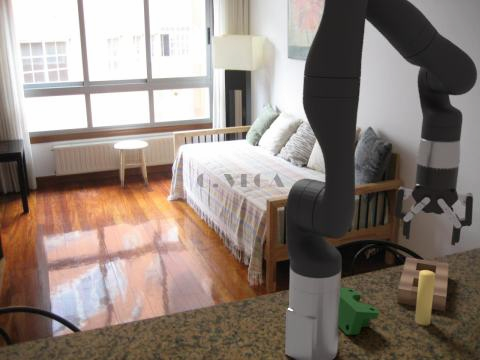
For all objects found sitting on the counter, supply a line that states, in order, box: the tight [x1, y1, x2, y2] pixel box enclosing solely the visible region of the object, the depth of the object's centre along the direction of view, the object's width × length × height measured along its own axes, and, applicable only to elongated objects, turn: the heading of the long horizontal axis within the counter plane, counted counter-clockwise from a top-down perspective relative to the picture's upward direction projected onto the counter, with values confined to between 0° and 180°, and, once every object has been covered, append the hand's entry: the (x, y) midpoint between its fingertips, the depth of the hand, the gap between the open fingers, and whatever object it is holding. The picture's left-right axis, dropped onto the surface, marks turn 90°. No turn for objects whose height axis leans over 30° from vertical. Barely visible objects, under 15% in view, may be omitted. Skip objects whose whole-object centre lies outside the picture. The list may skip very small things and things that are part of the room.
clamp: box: [338, 286, 380, 336], centre depth 108 cm, size 12×6×9 cm, turn 13°
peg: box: [414, 270, 435, 326], centre depth 107 cm, size 3×3×11 cm
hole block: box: [396, 257, 450, 312], centre depth 122 cm, size 18×10×4 cm, turn 157°
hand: (429, 240), depth 103 cm, fingers open, 8 cm apart
